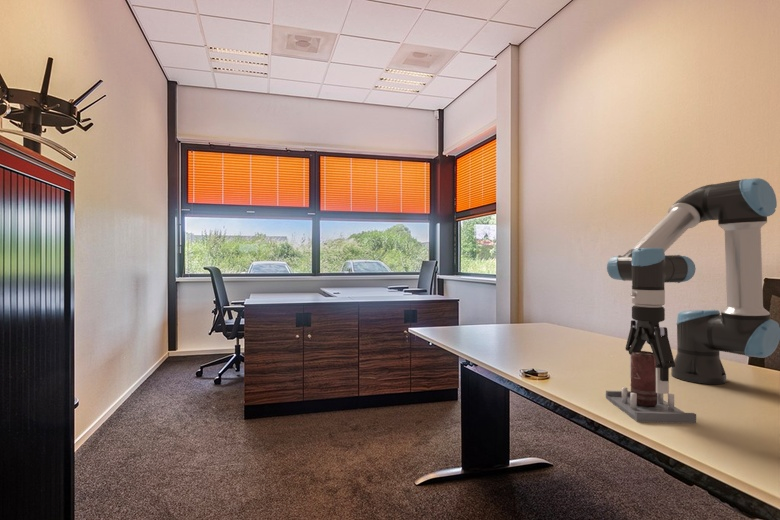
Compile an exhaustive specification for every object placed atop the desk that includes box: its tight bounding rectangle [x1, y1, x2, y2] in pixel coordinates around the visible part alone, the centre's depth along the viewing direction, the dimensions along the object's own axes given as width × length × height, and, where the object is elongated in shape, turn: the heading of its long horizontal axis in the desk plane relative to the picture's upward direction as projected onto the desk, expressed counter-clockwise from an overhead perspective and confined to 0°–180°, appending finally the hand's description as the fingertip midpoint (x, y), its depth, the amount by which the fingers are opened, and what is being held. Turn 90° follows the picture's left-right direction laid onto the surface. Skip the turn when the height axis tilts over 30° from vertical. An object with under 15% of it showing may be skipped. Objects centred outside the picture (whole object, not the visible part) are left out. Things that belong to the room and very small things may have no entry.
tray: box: [605, 386, 697, 424], centre depth 113 cm, size 14×18×5 cm
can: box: [630, 350, 657, 407], centre depth 115 cm, size 6×6×14 cm
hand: (648, 385), depth 113 cm, fingers open, 13 cm apart
